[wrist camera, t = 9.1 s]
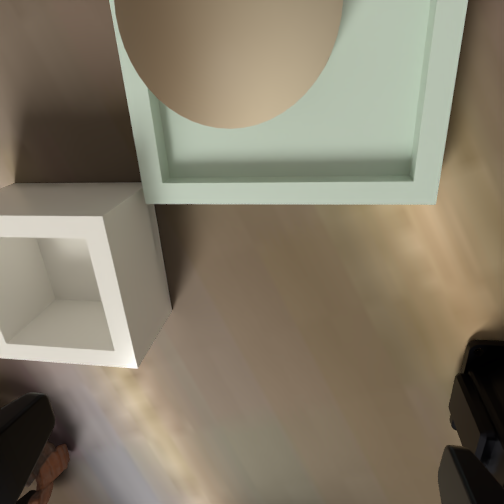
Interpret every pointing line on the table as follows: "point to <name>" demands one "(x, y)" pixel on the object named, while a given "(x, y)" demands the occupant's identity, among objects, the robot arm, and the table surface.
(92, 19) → the table surface
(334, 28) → the dowel
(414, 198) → the tray
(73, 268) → the white square tube
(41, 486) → the brown rounded hollow piece
